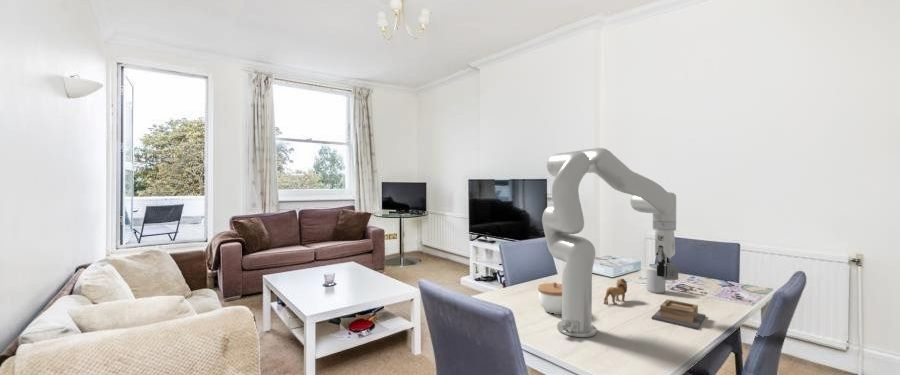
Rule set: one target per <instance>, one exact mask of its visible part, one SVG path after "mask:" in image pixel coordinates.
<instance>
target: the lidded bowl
mask: <svg viewBox="0 0 900 375" xmlns="http://www.w3.org/2000/svg"><path fill="white" fill-rule="evenodd" d="M537 290H538V300H539V304H540V306H541V307H542V308H543V309H544V311H545V310H546V311H547V312H546V311H545V312H546V313H548V312H549V313H548V314H551V313H554V314H553V315H562V283H557V282H556V281H555V282H549V283H548V282H546V283H541V284H539V285H538V287H537Z"/></svg>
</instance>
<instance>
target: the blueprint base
mask: <svg viewBox="0 0 900 375" xmlns="http://www.w3.org/2000/svg"><path fill="white" fill-rule="evenodd" d="M659 307H660V308H659V309H658V310H657V311H656V312H655V313H654V314H653V315H652V317H651V319H652V320H655V321H657V322H658V321H659V322H663V323H668V324H672V325H675V326H681V327H684V328H688V329H693V330H699V328H700V326H701V325H702V323H703V322H704V320H705V318H706V314H704V313H701V312H700V313H699V312H698V310H699V305H697V304H694V303H689V302H684V301H683V302H682V301H678V300H673V299H666V300H664V302H662V304H660V306H659Z"/></svg>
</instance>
